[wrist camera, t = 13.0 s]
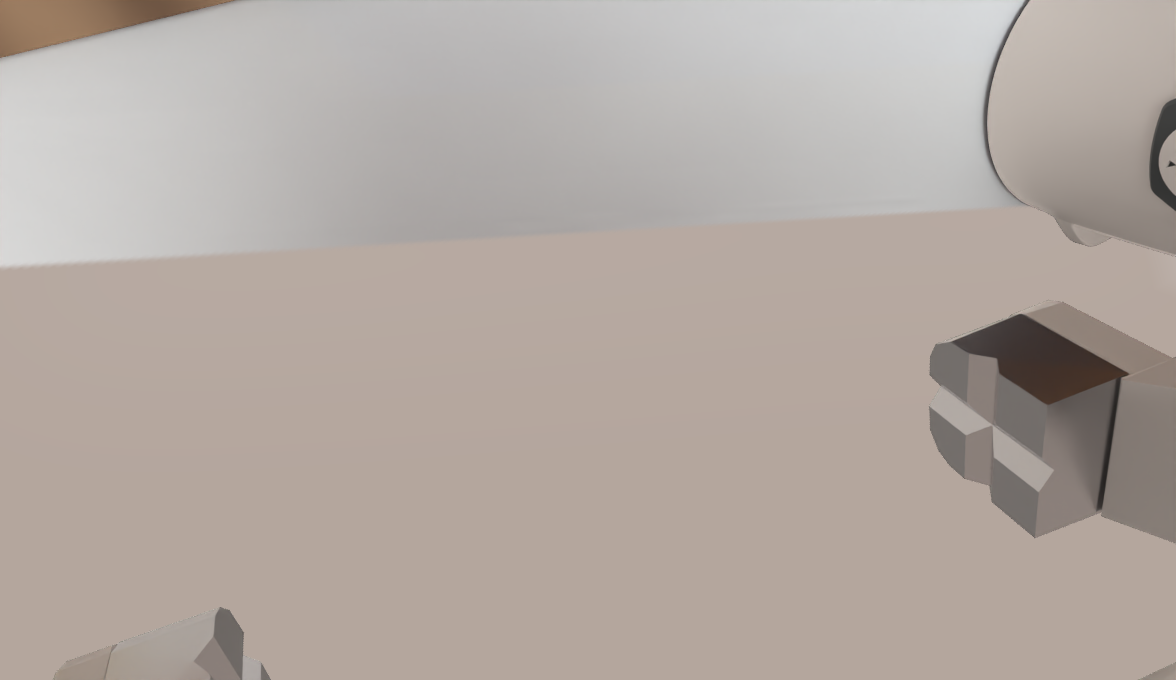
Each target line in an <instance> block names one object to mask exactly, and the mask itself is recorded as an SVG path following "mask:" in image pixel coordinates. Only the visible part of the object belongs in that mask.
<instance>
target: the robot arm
mask: <svg viewBox="0 0 1176 680" xmlns="http://www.w3.org/2000/svg"><path fill="white" fill-rule="evenodd" d="M987 130H988V142H989V148H990V153H991V157H992V160H993V163H994V166H995V169H996V171H997V173H998V175H999V177H1000V179H1001V180H1002V182H1003V183H1004V185H1005V186H1006V187H1007V189H1008V190H1009V191H1010V192H1011V193H1012V194H1013V195H1014V196H1015V197H1016V198H1018V199H1019V200H1020V201H1022V202H1023V203H1025V204H1027V205H1029V206H1031V207H1034V208H1036V209H1039V210H1041V211H1044V212H1046V213H1048V214H1050V215H1051V216H1053V217H1054V218H1055V219H1056V221H1057V223H1058V225H1059V226H1060V228H1061V229H1062V231H1063V232H1064V233H1065V235H1066V236H1067V237H1068V238H1069V239H1070V240H1072V241H1073V242H1075V243H1079V244H1082V245H1086V246H1096V245H1098V244H1101V243H1103V242H1104V241H1106V240H1108V239H1110V238H1116V239H1119V240H1122V241H1125V242H1128V243H1132V244H1135V245H1138V246H1141V247H1145V248H1148V249H1152V250H1155V251H1158V252H1162V253H1165V254H1168V255H1171V256H1175V257H1176V0H1030V1H1029V2H1028V4H1027V5H1026V7H1025V8H1024V10H1023V11H1022V13H1021V15H1020V16H1019V18H1018V20H1017V21H1016V23H1015V25H1014V27H1013V29H1012V31H1011V33H1010V35H1009V37H1008V39H1007V41H1006V43H1005V46H1004V48H1003V50H1002V53H1001V56H1000V58H999V61H998V64H997V67H996V71H995V74H994V78H993V82H992V86H991V91H990V97H989V104H988V116H987ZM930 376H931V377H932V378H933V379H934V380H935V381H936V382H937V383H938V384H939V385H940V386H941V387H940V389H939V390H938V392H937V394H936V396H935V398H934V399H933V401H932V403H931V405H930V406H929V410H930V430H931V433H932V435H933V438H934V440H935V443H936V445H937V448H938V450H939V452H940V453H941V455H942V456H943V457H944V459H945V460H946V461H947V463H948V464H949V465H950V466H951V467H952V468H953V469H954V470H955V471H956V472H957V473H959V474H960V475H961V476H962V477H963V478H964V479H967V480H971V481H975V482H979V483H982V484H986V485H989V486H990V493H991V500H992V503H994V504H995V505H996V506H997V507H998V508H1000V509H1001V510H1002V511H1003V512H1004V513H1006V514H1007V515H1008V516H1009V517H1011V519H1013V520H1014V521H1015V522H1016V523H1017V524H1019V525H1020V526H1021V527H1022V528H1023V529H1025V530H1026V531H1027V532H1028V533H1029V534H1031V535H1032V536H1033V537H1034V538H1036V537H1039V536H1041V535H1044V534H1047V533H1049V532H1052V531H1054V530H1057V529H1059V528H1062V527H1064V526H1067V525H1069V524H1072V523H1075V522H1077V521H1080V520H1082V519H1085V518H1088V517H1090V516H1093V515H1095V514H1098V513H1100V512H1102V514H1101V516H1102V517H1105V518H1108V519H1111V520H1113V521H1116V522H1119V523H1121V524H1124V525H1127V526H1130V527H1132V528H1135V529H1138V530H1140V531H1143V532H1146V533H1149V534H1151V535H1154V536H1157V537H1160V538H1163V539H1165V540H1168V541H1171V542H1173V543H1176V357H1175V358H1171V357H1169V356H1167V355H1165V354H1163V353H1161V352H1159V351H1157V350H1155V349H1153V348H1151V347H1149V346H1148V345H1146V344H1144V343H1142V342H1140V341H1138V340H1136V339H1134V338H1132V337H1130V336H1128V335H1126V334H1124V333H1122V332H1120V331H1118V330H1116V329H1114V328H1112V327H1110V326H1109V325H1106V324H1105V323H1103V322H1101V321H1099V320H1097V319H1095V318H1093V317H1091V316H1089V315H1087V314H1085V313H1083V312H1081V311H1079V310H1077V309H1075V308H1073V307H1072V306H1070V305H1068V304H1066V303H1064V302H1059V301H1050V300H1047V301H1045V302H1042V303H1040V304H1037V305H1034V306H1032V307H1029V308H1027V309H1024V310H1022V311H1019V312H1017V313H1014V314H1012V315H1010V316H1009V317H1008V318H1005V319H1002V320H999V321H996V322H994V323H991V324H988V325H986V326H983V327H980V328H978V329H975V330H972V331H970V332H967V333H964V334H962V335H959V336H956V337H954V338H951V339H948V340H946V341H943V342H940V343H938V344H936V345H935V347H934V349H933V351H932V354H931V356H930ZM243 637H244V632H243V631H242V629H241V627H240V626H239V624H238V623H237V621H236V620H235V618H234V617H233V615H232V613H231V612H230V610H227V609H224V608H221V607H220V608H217V609H214V610H211V611H208V612H206V613H203V614H200V615H197V616H194V617H191V618H188V619H185V620H182V621H179V622H176V623H173V624H170V625H168V626H165V627H162V628H159V629H156V630H153V631H150V632H147V633H144V634H142V635H139V636H136V637H133V638H130V639H127V640H124V641H121V642H119V643H118V644H116V645H112V646H109V647H106V648H104V649H100V650H97V651H95V652H92V653H89V654H86V655H83V656H80V657H78V658H75V659H72V660H69V661H66V662H65V663H64V664H63V665H62V666H61V668H60V669H59V670H58V671H57V672H56V673H55V676H54V678H53V680H271V679H270V677H269V675H268V674H267V672H266V670H265V668H264V667H263V665H262V663H261V662H260V661H257V660H254V659H252V658H249V657H246V656H244V655H243V639H244V638H243ZM1139 680H1176V662H1175V663H1173V664H1171V665H1169V666H1167V667H1165V668H1163V669H1160V670H1158V671H1156V672H1154V673H1152V674H1150V675H1148V676H1145V677H1143V678H1141V679H1139Z"/></svg>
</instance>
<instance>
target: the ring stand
mask: <svg viewBox="0 0 1176 680" xmlns="http://www.w3.org/2000/svg"><path fill="white" fill-rule="evenodd" d="M230 1H234V0H0V58H1V57H6V56H10V55H14V54H18V53H22V52H26V51H30V50H34V49H38V48H42V47H46V46H50V45H55V44H59V43H63V42H67V41H71V40H75V39H79V38H83V37H87V36H91V35H95V34H99V33H103V32H108V31H112V30H116V29H120V28H124V27H128V26H132V25H136V24H140V23H144V22H148V21H152V20H156V19H161V18H165V17H169V16H173V15H177V14H181V13H185V12H189V11H193V10H197V9H201V8H205V7H210V6H214V5H218V4H222V3H226V2H230Z"/></svg>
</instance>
